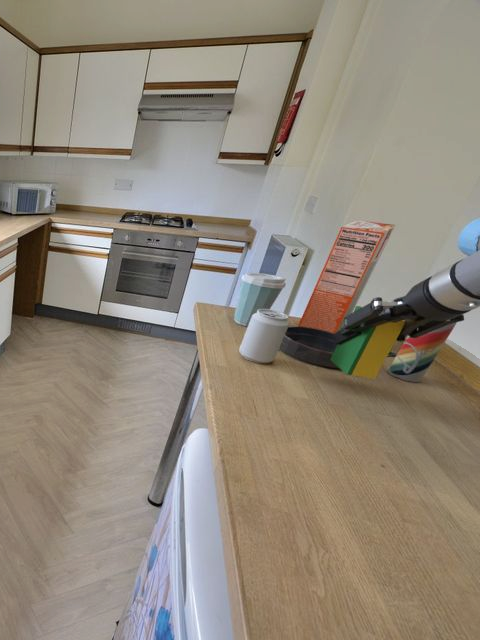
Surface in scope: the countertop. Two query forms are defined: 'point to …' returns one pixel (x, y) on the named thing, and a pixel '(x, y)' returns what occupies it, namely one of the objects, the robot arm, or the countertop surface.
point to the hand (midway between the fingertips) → (352, 340)
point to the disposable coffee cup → (256, 295)
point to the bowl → (310, 345)
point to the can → (264, 335)
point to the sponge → (367, 349)
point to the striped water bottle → (419, 354)
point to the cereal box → (345, 274)
